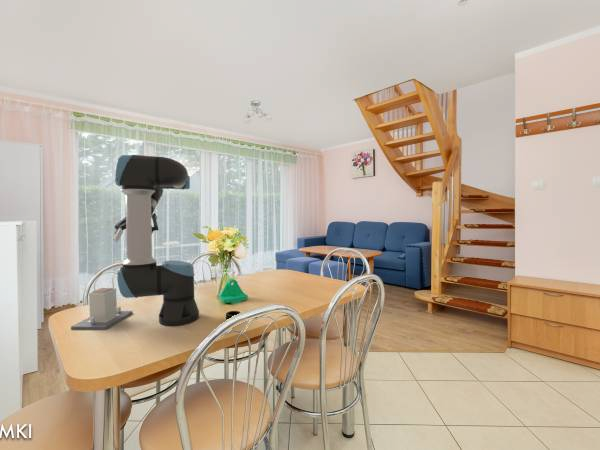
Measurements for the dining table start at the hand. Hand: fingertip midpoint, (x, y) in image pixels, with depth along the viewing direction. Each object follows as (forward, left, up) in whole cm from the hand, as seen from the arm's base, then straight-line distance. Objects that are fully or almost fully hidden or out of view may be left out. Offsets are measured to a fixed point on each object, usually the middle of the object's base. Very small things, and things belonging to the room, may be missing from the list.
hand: (129, 240), depth 138 cm
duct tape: (-52, +18, -30) cm, 63 cm away
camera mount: (-46, -7, -30) cm, 56 cm away
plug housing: (-1, +21, -29) cm, 35 cm away
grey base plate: (-1, +21, -30) cm, 36 cm away
